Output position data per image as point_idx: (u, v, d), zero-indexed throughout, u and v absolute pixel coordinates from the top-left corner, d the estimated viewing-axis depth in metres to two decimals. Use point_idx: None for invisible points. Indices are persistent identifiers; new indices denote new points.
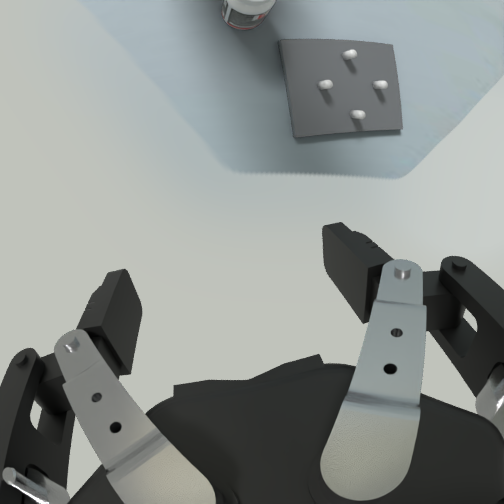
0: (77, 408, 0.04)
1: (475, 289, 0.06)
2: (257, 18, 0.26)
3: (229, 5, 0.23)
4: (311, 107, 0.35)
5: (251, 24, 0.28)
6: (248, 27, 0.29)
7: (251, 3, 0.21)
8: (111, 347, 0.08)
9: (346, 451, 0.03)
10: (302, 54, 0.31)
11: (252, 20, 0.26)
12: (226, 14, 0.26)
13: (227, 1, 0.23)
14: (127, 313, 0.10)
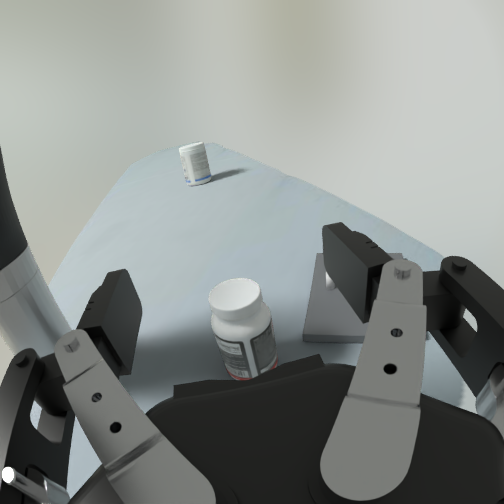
0: (77, 408, 0.04)
1: (475, 289, 0.06)
2: None
3: (244, 340, 0.25)
4: None
5: (275, 348, 0.28)
6: (276, 357, 0.29)
7: (257, 305, 0.25)
8: (111, 347, 0.08)
9: (346, 451, 0.03)
10: (325, 318, 0.33)
11: (273, 337, 0.27)
12: (250, 365, 0.26)
13: (238, 339, 0.25)
14: (127, 313, 0.10)
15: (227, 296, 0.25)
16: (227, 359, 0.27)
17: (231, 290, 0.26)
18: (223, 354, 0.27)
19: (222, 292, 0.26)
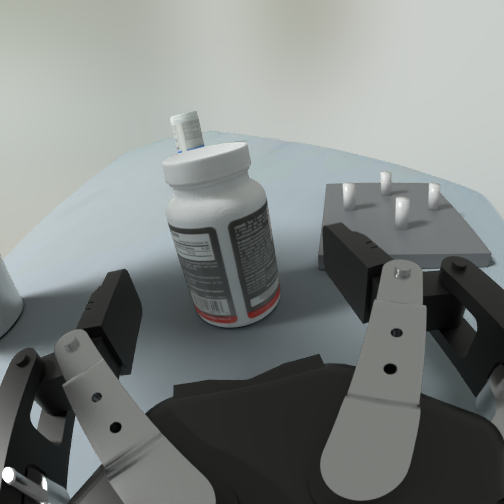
0: (77, 408, 0.04)
1: (475, 289, 0.06)
2: (270, 227, 0.17)
3: (217, 224, 0.14)
4: (439, 236, 0.20)
5: (275, 265, 0.17)
6: (278, 283, 0.18)
7: (242, 161, 0.14)
8: (111, 347, 0.08)
9: (346, 451, 0.03)
10: None
11: (271, 240, 0.17)
12: (231, 285, 0.15)
13: (206, 223, 0.14)
14: (127, 313, 0.10)
15: (191, 154, 0.14)
16: (192, 277, 0.16)
17: (200, 151, 0.15)
18: (185, 269, 0.16)
19: (185, 154, 0.15)
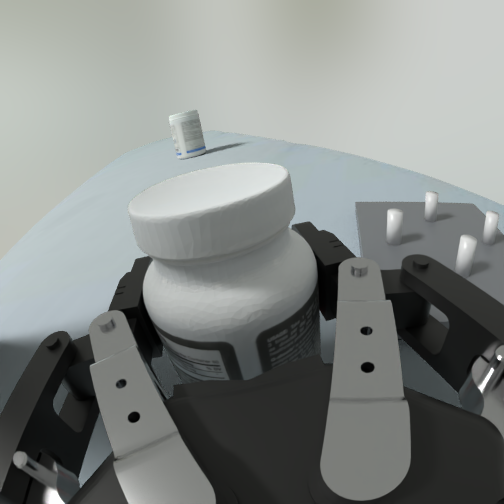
0: (100, 391, 0.05)
1: (442, 286, 0.06)
2: None
3: (237, 337, 0.07)
4: None
5: None
6: None
7: (283, 211, 0.07)
8: (145, 329, 0.08)
9: (346, 451, 0.03)
10: None
11: (319, 331, 0.10)
12: None
13: (215, 335, 0.07)
14: None
15: (183, 190, 0.08)
16: None
17: (199, 180, 0.08)
18: (181, 377, 0.09)
19: (172, 187, 0.08)
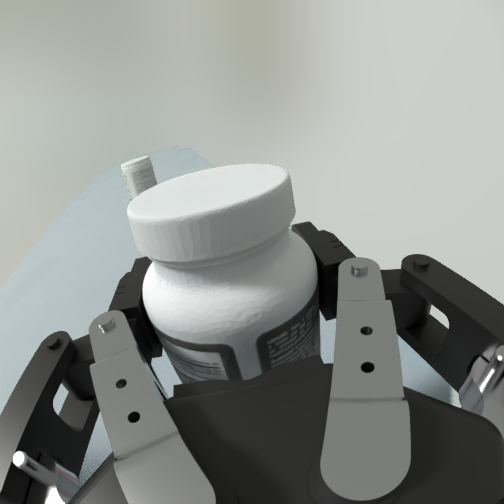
0: (100, 391, 0.05)
1: (442, 286, 0.06)
2: None
3: (236, 340, 0.07)
4: None
5: None
6: None
7: (284, 212, 0.07)
8: (145, 328, 0.08)
9: (346, 451, 0.03)
10: None
11: (319, 333, 0.10)
12: None
13: (215, 338, 0.07)
14: None
15: (183, 192, 0.08)
16: None
17: (199, 182, 0.08)
18: (181, 379, 0.09)
19: (172, 188, 0.08)
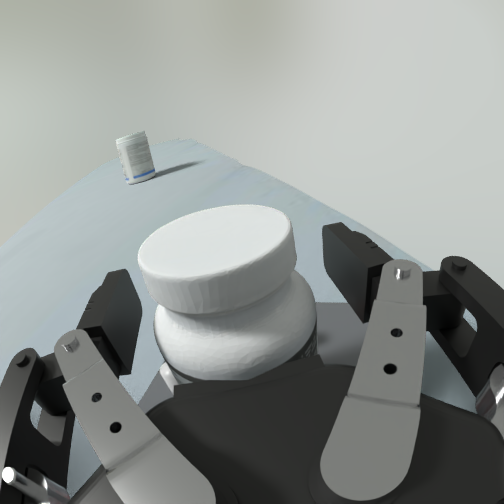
0: (77, 408, 0.04)
1: (475, 289, 0.06)
2: None
3: (242, 378, 0.08)
4: None
5: None
6: None
7: (286, 266, 0.08)
8: (111, 347, 0.08)
9: (346, 451, 0.03)
10: None
11: None
12: None
13: (223, 376, 0.07)
14: (127, 313, 0.10)
15: (190, 241, 0.08)
16: None
17: (205, 228, 0.09)
18: None
19: (179, 234, 0.09)
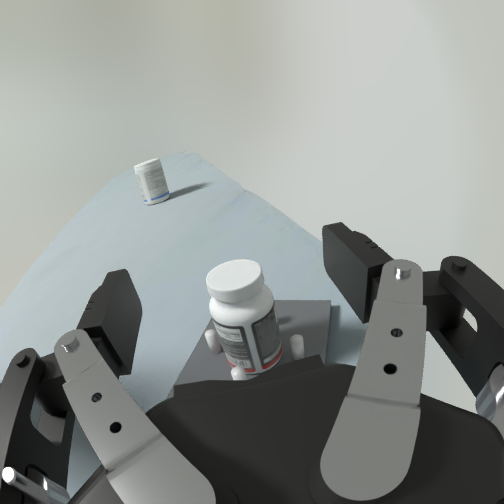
0: (77, 408, 0.04)
1: (475, 289, 0.06)
2: (276, 315, 0.26)
3: (245, 324, 0.23)
4: None
5: (279, 336, 0.27)
6: (281, 346, 0.27)
7: (258, 285, 0.23)
8: (111, 347, 0.08)
9: (346, 451, 0.03)
10: None
11: (276, 324, 0.26)
12: (252, 353, 0.24)
13: (238, 324, 0.23)
14: (127, 313, 0.10)
15: (226, 277, 0.24)
16: (228, 347, 0.25)
17: (230, 271, 0.24)
18: (223, 342, 0.25)
19: (221, 273, 0.24)
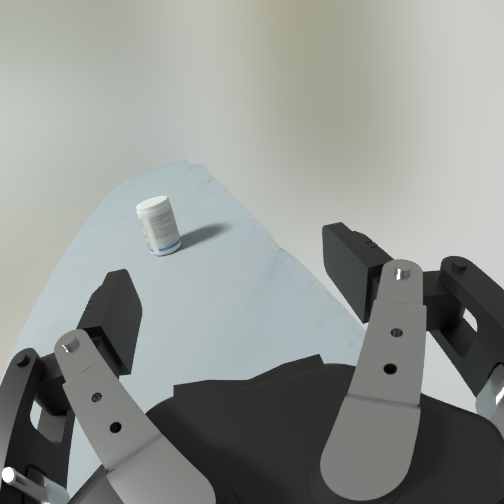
0: (77, 408, 0.04)
1: (475, 289, 0.06)
2: None
3: None
4: None
5: None
6: None
7: None
8: (111, 347, 0.08)
9: (346, 451, 0.03)
10: None
11: None
12: None
13: None
14: (127, 313, 0.10)
15: None
16: None
17: None
18: None
19: None
